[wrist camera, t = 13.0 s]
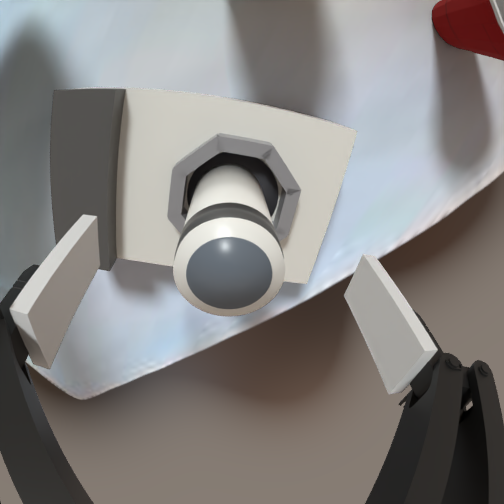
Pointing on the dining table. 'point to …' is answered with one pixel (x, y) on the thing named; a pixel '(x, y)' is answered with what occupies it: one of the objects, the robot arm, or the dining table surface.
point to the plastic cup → (472, 25)
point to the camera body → (188, 167)
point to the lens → (228, 245)
